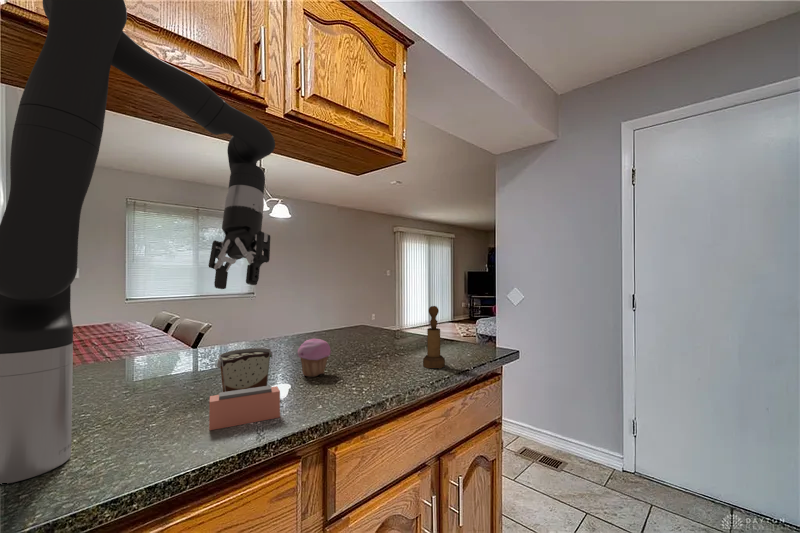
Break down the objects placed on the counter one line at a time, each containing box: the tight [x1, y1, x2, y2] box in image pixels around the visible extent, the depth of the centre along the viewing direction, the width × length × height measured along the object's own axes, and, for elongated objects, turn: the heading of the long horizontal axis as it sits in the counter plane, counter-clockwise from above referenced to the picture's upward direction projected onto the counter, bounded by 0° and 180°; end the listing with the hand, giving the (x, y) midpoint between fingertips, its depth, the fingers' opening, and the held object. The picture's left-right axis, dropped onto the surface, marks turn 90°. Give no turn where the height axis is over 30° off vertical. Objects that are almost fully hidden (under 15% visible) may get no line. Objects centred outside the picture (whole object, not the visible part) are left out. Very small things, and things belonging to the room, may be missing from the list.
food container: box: [216, 347, 273, 392], centre depth 80 cm, size 12×6×10 cm, turn 141°
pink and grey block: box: [208, 385, 281, 431], centre depth 66 cm, size 12×4×6 cm, turn 118°
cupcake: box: [297, 337, 332, 378], centre depth 96 cm, size 9×9×10 cm
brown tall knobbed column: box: [422, 305, 446, 369], centre depth 105 cm, size 7×6×18 cm
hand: (235, 286), depth 70 cm, fingers open, 8 cm apart
